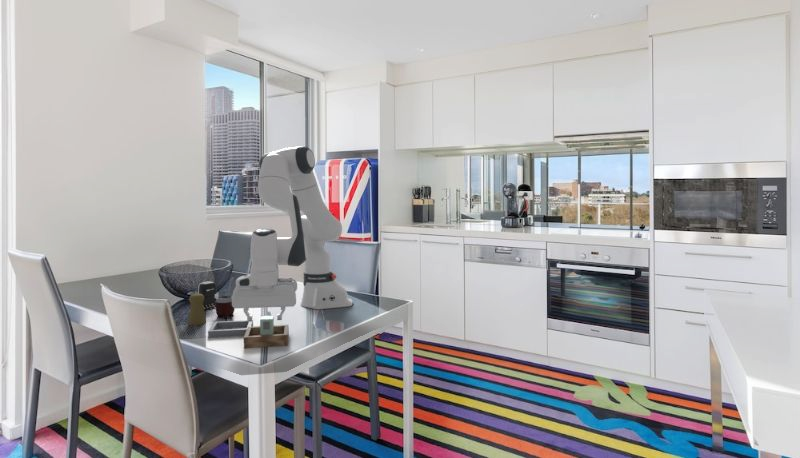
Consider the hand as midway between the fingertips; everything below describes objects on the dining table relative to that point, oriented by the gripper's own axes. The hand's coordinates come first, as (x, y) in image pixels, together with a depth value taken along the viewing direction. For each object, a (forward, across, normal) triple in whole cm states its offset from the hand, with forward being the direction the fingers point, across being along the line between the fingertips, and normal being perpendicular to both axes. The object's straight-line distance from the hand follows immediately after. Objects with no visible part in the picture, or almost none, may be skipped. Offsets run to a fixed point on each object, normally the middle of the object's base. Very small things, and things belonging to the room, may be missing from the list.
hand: (264, 320), depth 148 cm
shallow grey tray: (+7, +12, -13) cm, 19 cm away
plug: (+7, -1, 0) cm, 7 cm away
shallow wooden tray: (+7, -1, 0) cm, 7 cm away
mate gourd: (+7, +18, -33) cm, 38 cm away
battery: (+7, +27, -46) cm, 54 cm away
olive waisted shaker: (+7, +26, -26) cm, 38 cm away
